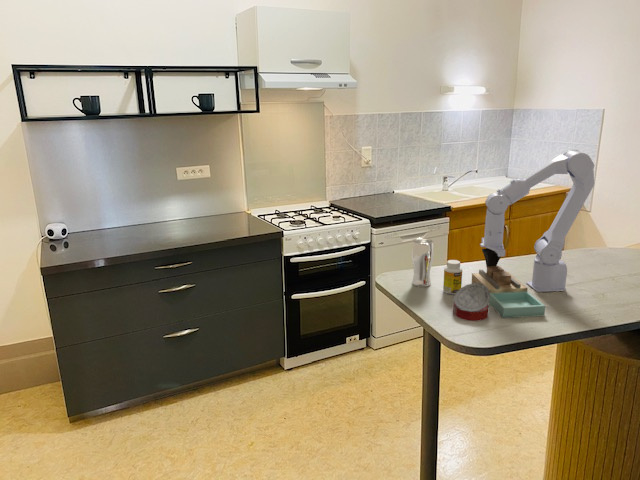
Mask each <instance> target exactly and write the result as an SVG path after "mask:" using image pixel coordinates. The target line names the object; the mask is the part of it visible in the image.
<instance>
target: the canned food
mask: <svg viewBox="0 0 640 480" xmlns="http://www.w3.org/2000/svg"><path fill="white" fill-rule="evenodd" d="M453 296H454V297H453V302H452V314H453V315H454V316H455V317H457V318H458V319H460V320H464V321H468V322H469V321H471V322H479V321H484V320H486V319H487V318H488V316H489V307H490V304H489V301H490V292H489V290H488V288H487V287H486V286H484V285H483V284H481V283H472V282H471V283H469V284H466V285H464V286H461V288H460V290H459V291H458V292H456V294H454V295H453Z"/></svg>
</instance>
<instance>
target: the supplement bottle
mask: <svg viewBox="0 0 640 480" xmlns="http://www.w3.org/2000/svg"><path fill="white" fill-rule="evenodd" d="M443 271H444V272H443V286H442V287H443V290H442V291H443V292H444V293H445V294H447V295H453V296H455V294H456V292H458V291H459V290H460V288H462V284H463V283H462V281H463V268H462V267H461V261H460V260H457V259H449V260H447V262H446V266H445V267H444V268H443Z"/></svg>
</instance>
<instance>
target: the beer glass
mask: <svg viewBox="0 0 640 480" xmlns="http://www.w3.org/2000/svg"><path fill="white" fill-rule="evenodd" d="M411 260H412V261H411V262H412V268H413V269H412V270H413V278H412V282H411V283H413V284H414V285H413V284H412V285H413V286H415V287H418V286H419V288H426V287H430V286H431V284H432V283H431V269H432V265H433V260H434V240H433V239H430V238H421V237H419V238H418V237H417V238H414V239H413V240H412V245H411Z"/></svg>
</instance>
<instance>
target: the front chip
mask: <svg viewBox="0 0 640 480" xmlns="http://www.w3.org/2000/svg"><path fill="white" fill-rule="evenodd" d="M507 272H508V271H505V270H504V271H499V272H493V280H494V281H495V282H496V283H497V284H499V285H510V284H511V275H512V274H511V273H510V272H509V273H510V274H511V275H510V274H509V273H507Z"/></svg>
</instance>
